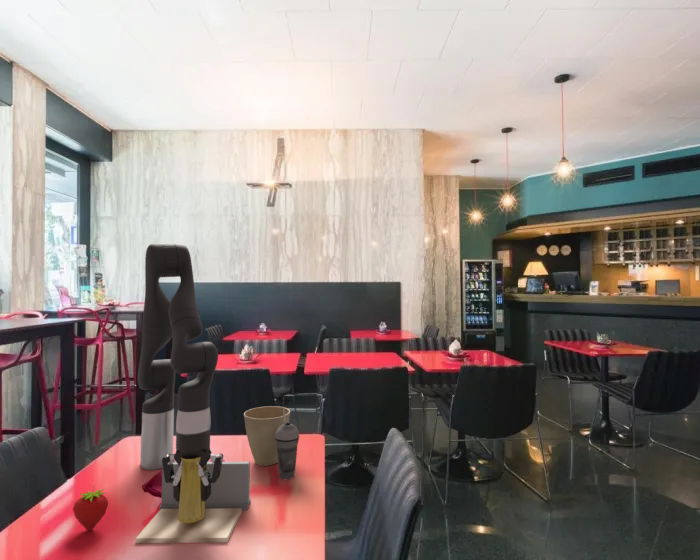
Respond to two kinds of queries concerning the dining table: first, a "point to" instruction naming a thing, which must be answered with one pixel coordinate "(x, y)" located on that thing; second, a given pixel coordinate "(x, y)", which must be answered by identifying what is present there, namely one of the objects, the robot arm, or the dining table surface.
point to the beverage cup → (286, 449)
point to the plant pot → (264, 432)
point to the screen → (218, 487)
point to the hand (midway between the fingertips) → (192, 499)
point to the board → (190, 527)
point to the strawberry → (90, 508)
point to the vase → (191, 492)
